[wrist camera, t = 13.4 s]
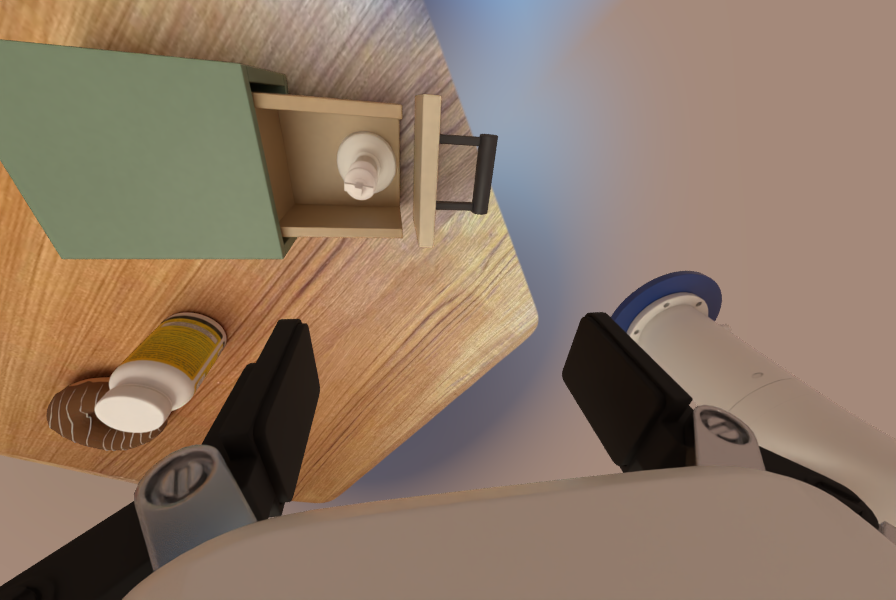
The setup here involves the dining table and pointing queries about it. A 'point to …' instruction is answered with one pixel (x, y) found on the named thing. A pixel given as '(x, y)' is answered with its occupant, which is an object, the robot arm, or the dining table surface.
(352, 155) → the chess piece
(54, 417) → the donut
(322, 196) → the drawer
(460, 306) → the dining table surface
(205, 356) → the pill bottle
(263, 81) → the cabinet
